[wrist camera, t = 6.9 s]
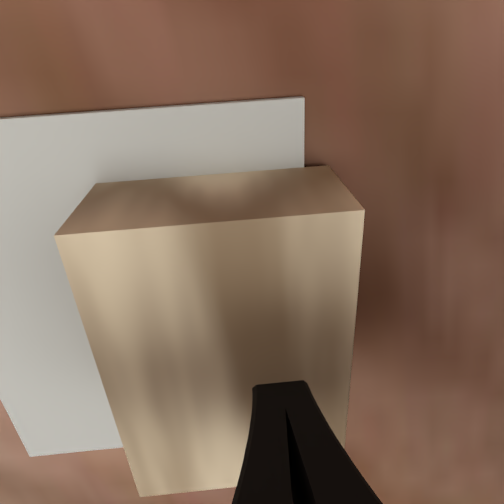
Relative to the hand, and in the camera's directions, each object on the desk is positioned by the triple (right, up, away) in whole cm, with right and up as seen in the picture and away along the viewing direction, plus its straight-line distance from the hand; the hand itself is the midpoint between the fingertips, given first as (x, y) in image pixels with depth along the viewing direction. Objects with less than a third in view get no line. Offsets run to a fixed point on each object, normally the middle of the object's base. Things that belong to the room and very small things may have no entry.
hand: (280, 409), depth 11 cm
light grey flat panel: (-5, +2, +4) cm, 7 cm away
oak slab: (+2, +2, +3) cm, 4 cm away
